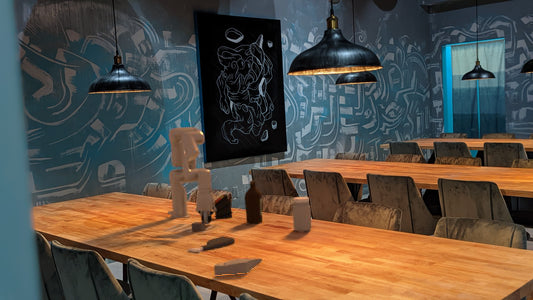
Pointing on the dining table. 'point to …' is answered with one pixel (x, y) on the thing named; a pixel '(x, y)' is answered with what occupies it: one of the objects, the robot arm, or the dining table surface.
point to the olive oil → (253, 204)
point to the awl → (205, 217)
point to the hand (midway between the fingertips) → (206, 221)
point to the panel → (189, 228)
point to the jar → (301, 214)
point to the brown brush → (214, 244)
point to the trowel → (236, 266)
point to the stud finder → (198, 226)
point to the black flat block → (223, 207)
